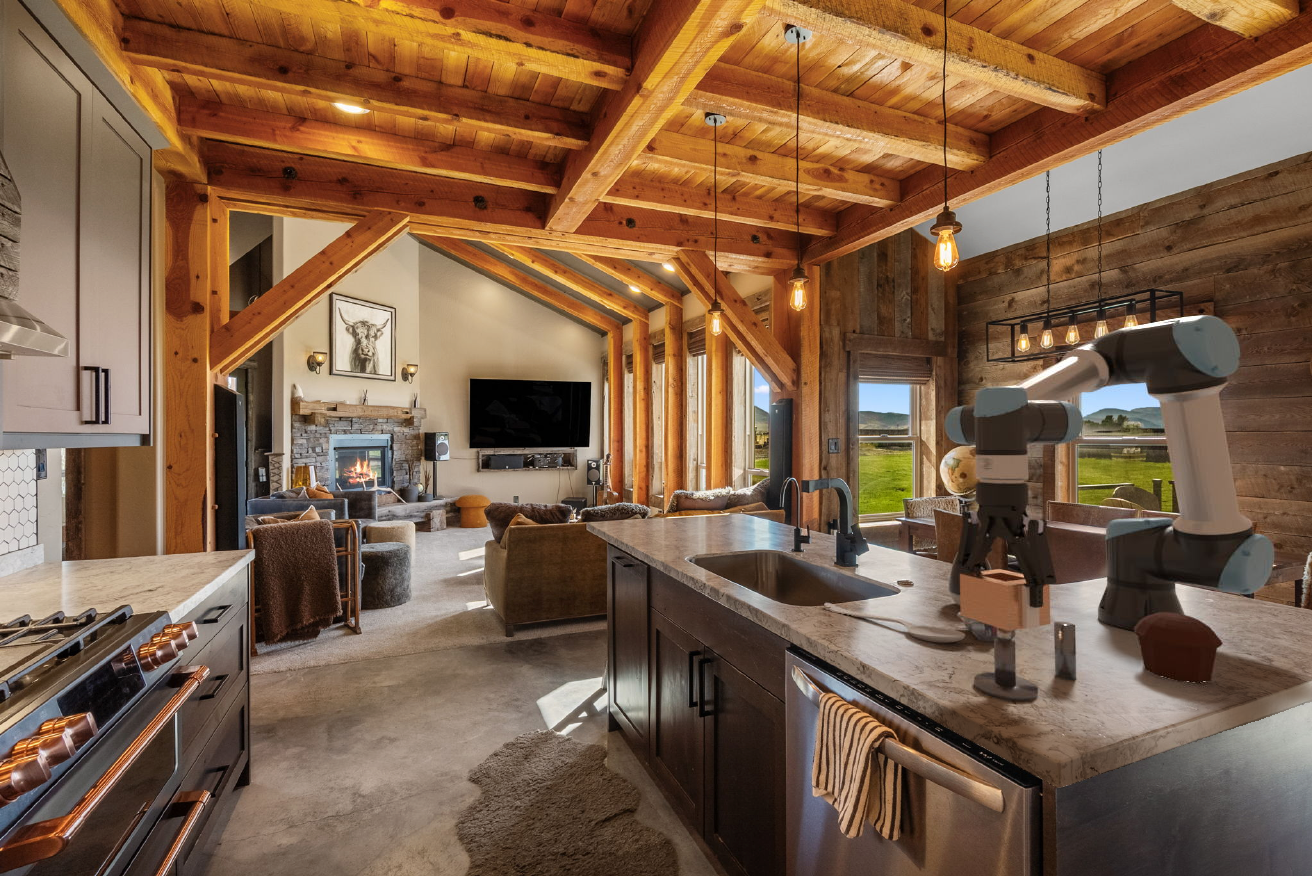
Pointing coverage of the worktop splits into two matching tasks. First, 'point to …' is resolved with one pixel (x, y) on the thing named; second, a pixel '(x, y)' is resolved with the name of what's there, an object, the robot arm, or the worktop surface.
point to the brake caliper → (981, 629)
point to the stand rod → (1065, 650)
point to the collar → (998, 598)
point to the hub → (1005, 673)
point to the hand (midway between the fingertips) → (1003, 618)
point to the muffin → (1177, 646)
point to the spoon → (909, 627)
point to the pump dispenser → (955, 578)
